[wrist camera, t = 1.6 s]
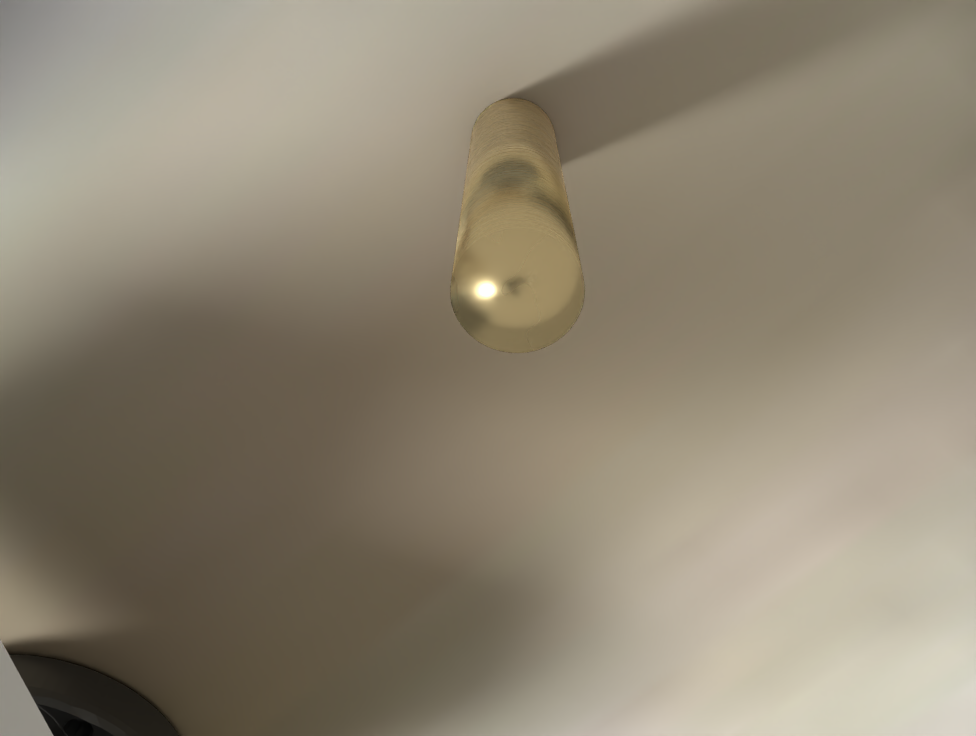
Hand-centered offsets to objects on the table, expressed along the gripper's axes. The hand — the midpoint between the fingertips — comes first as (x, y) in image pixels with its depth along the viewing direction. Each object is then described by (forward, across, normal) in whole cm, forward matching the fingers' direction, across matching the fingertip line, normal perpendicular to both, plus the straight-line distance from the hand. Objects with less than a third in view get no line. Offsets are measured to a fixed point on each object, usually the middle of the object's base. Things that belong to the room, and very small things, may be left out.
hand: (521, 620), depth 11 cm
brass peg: (+24, 0, 0) cm, 25 cm away
